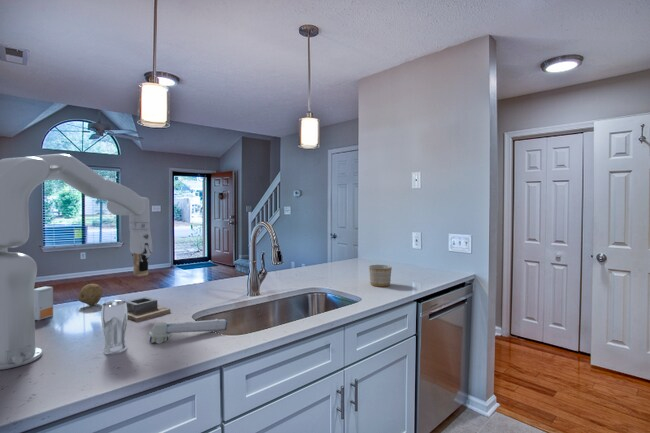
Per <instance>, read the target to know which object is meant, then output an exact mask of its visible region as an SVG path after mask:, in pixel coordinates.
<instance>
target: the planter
mask: <svg viewBox="0 0 650 433" xmlns="http://www.w3.org/2000/svg"><path fill="white" fill-rule="evenodd" d="M392 268H393V267H392V266H391V265H388V264H371V265H369V266H368V269H369V270H368V271H369V272H368V273H369V280H370V281H369V283H370V285H371V286H373V287H377V288H386V287H389V286H390V285H391V276H392V270H393V269H392Z"/></svg>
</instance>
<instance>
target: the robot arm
mask: <svg viewBox="0 0 650 433" xmlns="http://www.w3.org/2000/svg"><path fill="white" fill-rule="evenodd" d="M53 180H54V181H57V180H58V181H61V182H63V183H65V184H67V185H68V186H70V187H71V188H74V189H75V190H76V191H77V192H80V193H82V194H83V195H85V196H87V197H90V198H93V199H97V200H103V201H107V202H106V209H107V211H108V212H109V213H110V214H112V215H116V216H129V218H128V219H129V224H128V225H129V231H130V232H129V252H130V254H131V256H132V257H133V253H137V254H140V261H141V262H139V270H140V271H147V270H148V271H149V258H150V256H151V254H152V253H153V240H152V238H153V237H152V234H151V222H150V221H151V220H150V219H151V218H150V214H151V213H150V199H149V198H148V197H146V196H145V197H144V196H141V195H139V194H138V193H137V192H135V191H134V190H133V189H131V188H129V187H128V186H126V185H123V184H120V183H119V182H116V181H113V180H112V179H109V178H105V177H103V176H102V175H100V174H99V173H97V172H96V171H94V170H93V169H92V168H91V167H89V166H88V165H86V164H85V163H83V162H82V161H80V160H79V159H78V158H76V157H74V155H70V154H67V153H53V154H42V155H41V154H40V155H34V156H32V155H31V156H22V157H19V156H18V157H8V158H7V157H5V158H1V159H0V371H1V370H7V369H8V370H9V369H12V368H17V367H20V366H24V365H27V364H29V363H32V362H34V361H36V360H38V359H39V358H40V357H41V356H43V349H41V348H40V347H36V322H35V321H36V320H35V314H34V289H35V284H36V280H37V279H36V278H37V273H38V265H37V262H36V261H35V260H34V258H32V257H31V256H30V255H28V254H26V253H21V252H18V251H17V252H13V251H8V249H9V248H10V249H12V248H19V247H22V246H24V245H25V244H26V243H27V242H28V240H29V237H30V217H29V216H30V215H29V202H30V196H31V195H32V192H33V191H34V190H35V189H36V188H37V187H38V186H39V185H41V184H43V183H44V182H46V181H53ZM143 252H145V254H143ZM142 255H144V256H142Z"/></svg>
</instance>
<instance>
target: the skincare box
mask: <svg viewBox="0 0 650 433" xmlns="http://www.w3.org/2000/svg"><path fill="white" fill-rule="evenodd" d="M34 314H35V321H41V320H45V319H47V318H50V317H53V316H54V287H53V286H47V285H45V286H42V287H37V288H34Z"/></svg>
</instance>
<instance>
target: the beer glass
mask: <svg viewBox="0 0 650 433" xmlns="http://www.w3.org/2000/svg"><path fill="white" fill-rule="evenodd" d="M126 301H127V300H123V299H119V300H118V299H117V300H110V301H106V302H103V303H102V304H101V315H100V316H101V317H100V320H101V327H102V331H103V335H104V341H105V343H104V349H103V354H104V355H110V356H112V355H118V354H121V353H123V352H125V351H126V350H127V349H128V348H127V343H126V331H127V326H128V320H129V319H128V312H127V302H126Z"/></svg>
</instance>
